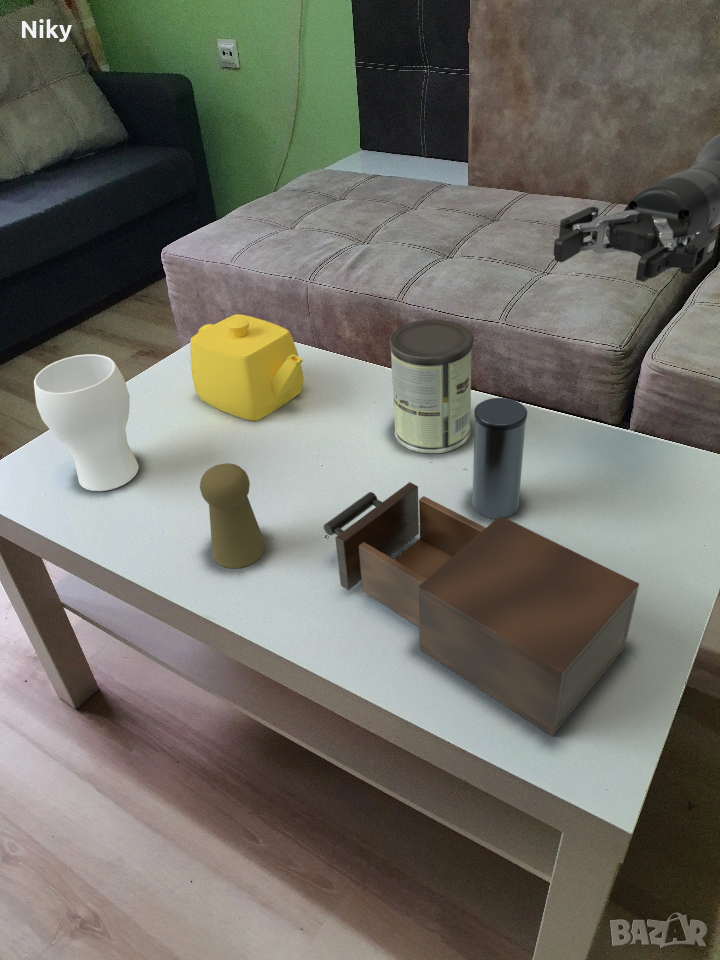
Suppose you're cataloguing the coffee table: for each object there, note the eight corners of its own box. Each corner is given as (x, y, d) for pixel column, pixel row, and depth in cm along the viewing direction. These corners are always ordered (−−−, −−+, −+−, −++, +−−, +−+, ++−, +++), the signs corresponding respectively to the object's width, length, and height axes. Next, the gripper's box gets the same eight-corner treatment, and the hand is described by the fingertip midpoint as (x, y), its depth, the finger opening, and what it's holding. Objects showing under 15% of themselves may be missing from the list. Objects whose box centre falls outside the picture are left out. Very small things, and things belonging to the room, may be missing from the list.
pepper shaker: (201, 552, 85) (181, 475, 79) (242, 524, 89) (226, 448, 82) (235, 576, 82) (217, 497, 75) (276, 546, 85) (262, 469, 79)
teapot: (333, 396, 110) (325, 322, 103) (274, 436, 103) (262, 360, 96) (238, 361, 121) (225, 292, 114) (179, 395, 114) (161, 323, 106)
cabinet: (419, 649, 72) (417, 586, 67) (496, 577, 79) (500, 515, 74) (552, 737, 64) (561, 672, 59) (624, 648, 71) (639, 583, 66)
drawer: (312, 567, 81) (305, 519, 77) (383, 514, 87) (380, 467, 83) (442, 651, 71) (442, 601, 67) (511, 584, 77) (516, 535, 73)
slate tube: (524, 494, 90) (532, 401, 82) (512, 524, 86) (520, 429, 78) (479, 485, 92) (482, 393, 84) (465, 513, 88) (467, 420, 80)
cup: (122, 440, 105) (91, 343, 96) (165, 469, 99) (137, 368, 89) (52, 477, 99) (12, 377, 90) (93, 510, 93) (55, 406, 84)
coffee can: (403, 408, 107) (399, 316, 98) (476, 415, 104) (479, 321, 96) (385, 450, 99) (380, 354, 90) (463, 458, 96) (465, 360, 88)
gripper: (618, 167, 82) (535, 208, 73) (753, 187, 74) (679, 235, 65) (608, 236, 86) (530, 282, 77) (735, 262, 78) (663, 317, 69)
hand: (598, 261), depth 71 cm, fingers open, 8 cm apart
